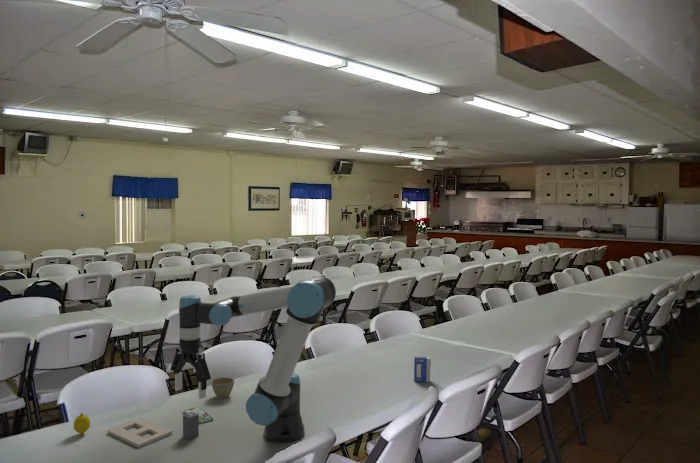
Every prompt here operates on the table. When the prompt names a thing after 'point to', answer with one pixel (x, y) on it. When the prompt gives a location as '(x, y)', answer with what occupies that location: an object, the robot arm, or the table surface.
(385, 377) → the table surface
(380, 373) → the table surface
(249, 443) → the table surface
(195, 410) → the smartphone
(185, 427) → the dark grey rectangular block
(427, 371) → the walkman
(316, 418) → the table surface
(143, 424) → the outlet plate
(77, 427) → the fruit
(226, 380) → the flower pot
